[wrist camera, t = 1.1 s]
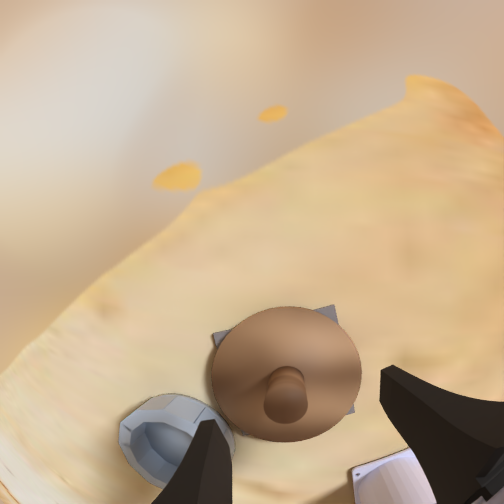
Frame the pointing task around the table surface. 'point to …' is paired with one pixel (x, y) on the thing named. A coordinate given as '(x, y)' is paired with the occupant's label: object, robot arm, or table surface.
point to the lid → (286, 374)
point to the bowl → (165, 434)
